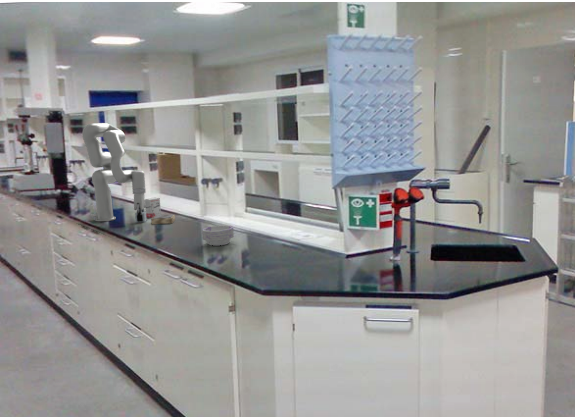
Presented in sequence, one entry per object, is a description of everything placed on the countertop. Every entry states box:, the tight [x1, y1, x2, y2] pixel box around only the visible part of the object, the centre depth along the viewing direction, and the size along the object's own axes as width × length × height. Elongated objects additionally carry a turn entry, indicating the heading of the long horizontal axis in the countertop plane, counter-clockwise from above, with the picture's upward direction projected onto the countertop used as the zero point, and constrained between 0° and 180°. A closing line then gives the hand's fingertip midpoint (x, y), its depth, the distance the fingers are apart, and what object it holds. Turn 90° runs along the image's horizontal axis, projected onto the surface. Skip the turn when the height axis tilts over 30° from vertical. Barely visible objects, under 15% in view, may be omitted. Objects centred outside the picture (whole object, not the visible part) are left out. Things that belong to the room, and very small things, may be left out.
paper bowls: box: [201, 225, 235, 247], centre depth 272 cm, size 15×15×8 cm
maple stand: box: [150, 214, 176, 225], centre depth 337 cm, size 12×12×3 cm
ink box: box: [144, 197, 162, 219], centre depth 356 cm, size 9×5×12 cm, turn 143°
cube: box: [134, 211, 148, 223], centre depth 340 cm, size 6×6×6 cm
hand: (141, 220), depth 340 cm, fingers closed on cube, 5 cm apart
